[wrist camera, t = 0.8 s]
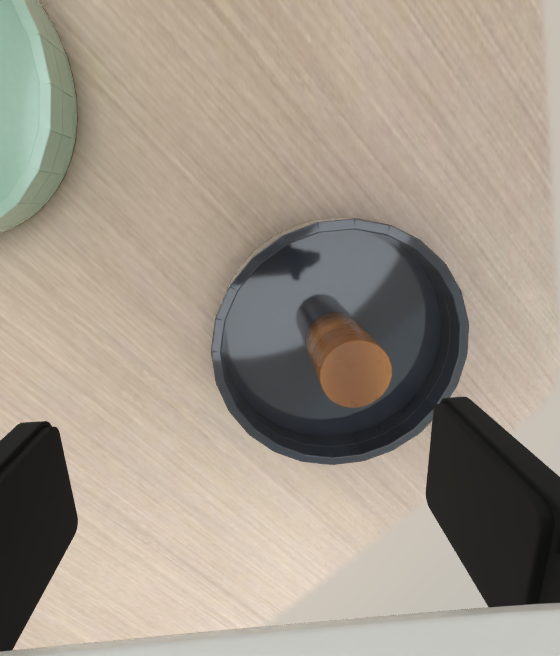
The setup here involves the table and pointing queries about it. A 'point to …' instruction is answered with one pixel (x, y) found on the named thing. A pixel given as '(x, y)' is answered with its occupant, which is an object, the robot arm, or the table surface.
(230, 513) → the table surface
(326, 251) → the slate bowl
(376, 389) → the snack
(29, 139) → the green bowl
